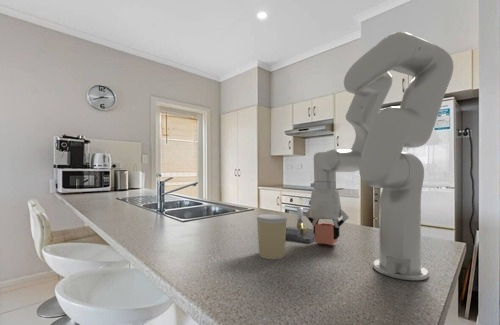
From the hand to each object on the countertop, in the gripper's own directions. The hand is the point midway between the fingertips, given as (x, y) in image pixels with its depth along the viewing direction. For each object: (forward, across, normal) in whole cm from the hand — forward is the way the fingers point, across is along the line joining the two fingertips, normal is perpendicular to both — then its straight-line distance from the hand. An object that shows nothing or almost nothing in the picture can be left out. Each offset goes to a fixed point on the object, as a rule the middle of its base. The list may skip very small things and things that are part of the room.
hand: (326, 237), depth 91 cm
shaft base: (+2, -12, +7) cm, 14 cm away
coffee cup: (+3, -11, -20) cm, 23 cm away
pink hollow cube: (+2, 0, 0) cm, 2 cm away
